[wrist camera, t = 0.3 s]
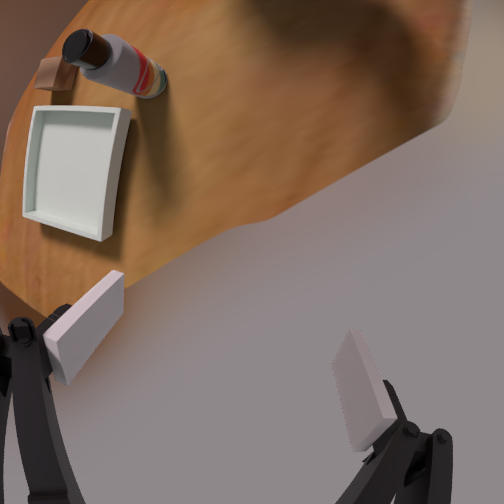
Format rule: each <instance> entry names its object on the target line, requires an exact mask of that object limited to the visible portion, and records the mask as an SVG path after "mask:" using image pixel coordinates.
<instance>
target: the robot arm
mask: <svg viewBox="0 0 504 504" xmlns="http://www.w3.org/2000/svg"><path fill="white" fill-rule="evenodd" d="M123 293H124V273H121V272H118V271H115V270H112V271H111V272H110V273H109V274H108V275H106V276H105V277H104V278H103V279H102V280H101V281H100V282H98V283H97V284H96V285H95V286H94V287H93V288H92V289H91V290H89V291H88V292H87V293H86V294H85V295H84V296H83V297H82V298H81V299H79V300H78V301H77V302H76V303H75V304H74V305H73V306H72V305H69V304H65V305H62V306H60V307H58V308H57V309H56V310H55V311H54V312H53V314H51V315H49V316H48V318H46V319H45V320H44V321H43V322H42V323H41V324H40V325H39V326H38V327H37V328H36V329H35V327H34V323H33V321H32V320H31V319H29V318H27V317H18V318H15V319H13V320H12V321H11V322H10V323H9V325H8V330H9V333H10V336H6V335H3V334H2V331H1V328H0V504H4V489H3V463H4V445H5V434H6V425H7V418H8V411H9V405H10V399H11V393H13V406H14V416H15V424H16V431H17V438H18V444H19V449H20V454H21V459H22V464H23V467H24V472H25V476H26V480H27V483H28V487H29V490H30V494H29V495H28V504H86V503H85V501H84V499H83V497H82V494H81V492H80V489H79V487H78V484H77V482H76V479H75V477H74V474H73V471H72V468H71V465H70V463H69V460H68V457H67V453H66V450H65V446H64V443H63V440H62V436H61V432H60V428H59V424H58V420H57V416H56V411H55V407H54V401H53V396H52V390H51V385H50V380H49V375H50V374H51V373H52V371H53V374H54V377H55V380H57V381H59V382H61V383H63V384H65V385H67V386H69V384H70V383H71V381H72V380H73V379H74V377H75V376H76V374H77V373H78V372H79V370H80V369H81V368H82V366H83V365H84V363H85V362H86V361H87V359H88V358H89V357H90V355H91V354H92V353H93V351H94V350H95V349H96V347H97V346H98V345H99V343H100V342H101V341H102V340H103V338H104V337H105V336H106V334H107V333H108V332H109V331H110V329H111V328H112V327H113V325H114V324H115V323H116V322H117V320H118V319H119V318H120V317H121V315H122V314H123V298H124V297H123V295H124V294H123ZM331 364H332V368H333V372H334V376H335V380H336V384H337V388H338V392H339V396H340V400H341V404H342V409H343V413H344V417H345V422H346V426H347V431H348V435H349V440H350V444H351V449H352V452H361V451H366V450H367V449H369V447H371V446H372V445H373V448H374V451H373V452H372V453H371V454H370V455H369V456H368V457H367V458H365V459H364V460H363V461H362V462H365V461H366V462H365V463H364V465H363V466H362V468H361V469H360V471H359V472H358V474H357V475H356V477H355V478H354V480H353V481H352V482H351V484H350V485H349V486H348V488H347V489H346V490H345V492H344V493H343V494H342V496H341V497H340V498H339V499H338V501H337V502H336V503H335V504H390V503H391V501H392V499H393V497H394V496H395V494H396V496H395V500H394V504H450V503H451V491H452V473H453V443H452V442H453V441H452V437H451V435H450V434H449V432H447V431H446V430H444V429H440V428H439V429H436V430H435V431H434V432H433V433H432V434H427V433H423V432H420V429H419V428H418V426H417V425H416V424H414V423H413V422H410V421H407V419H406V416H405V414H404V411H403V409H402V407H401V404H400V402H399V399H398V397H397V396H396V392H395V390H394V388H393V386H392V385H391V384H390V383H389V382H388V381H387V380H382V378H381V376H380V373H379V371H378V369H377V366H376V364H375V362H374V360H373V357H372V355H371V353H370V350H369V348H368V346H367V344H366V341H365V339H364V337H363V335H362V333H361V331H358V330H353V329H349V331H348V333H347V335H346V337H345V339H344V341H343V343H342V345H341V347H340V348H339V350H338V352H337V354H336V356H335V358H334V360H333V362H332V363H331Z"/></svg>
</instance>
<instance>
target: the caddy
mask: <svg viewBox="0 0 504 504" xmlns="http://www.w3.org/2000/svg"><path fill="white" fill-rule="evenodd" d="M131 115H132V111H131V110H127V109H123V108H114V107H98V106H34V110H33V115H32V120H31V125H30V131H29V137H28V144H27V152H26V161H25V171H24V186H23V217H26V218H29V219H32V220H35V221H38V222H41V223H44V224H47V225H50V226H53V227H56V228H59V229H62V230H65V231H68V232H71V233H75V234H78V235H81V236H84V237H87V238H90V239H94V240H97V241H100V242H102V241H103V240H105V239H107V238H108V237H110V236H111V235H112V231H113V220H114V211H115V202H116V195H117V187H118V181H119V174H120V168H121V162H122V157H123V151H124V146H125V141H126V137H127V132H128V127H129V123H130V119H131Z"/></svg>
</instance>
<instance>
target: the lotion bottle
mask: <svg viewBox="0 0 504 504" xmlns="http://www.w3.org/2000/svg"><path fill="white" fill-rule="evenodd" d="M62 56H63V59H64V61H65V62H66V63H69V64H72V65H75V66H78V67H80V71H81V73H82V75H83V76H84V77H85V78H87V79H89V80H92V81H95V82H98V83H101V84H104V85H107V86H109V87H112V88H115V89H118V90H121V91H124V92H126V93H129V94H132V95H134V96H137V97H140V98H144V99H150V98H154V97H156V96H158V95H159V94H160V93H161V92H162V91H163V90H164V89H165V87H166V84H167V74H166V72H165V70H164V69H163V68H162V67H161V66H159V65H158V64H157V63H155V62H154V61H153V60H151V59H150V58H149V57H147V56H146V55H144V54H143V53H142V52H140V51H139V50H137V49H136V48H134V47H133V46H132V45H130V44H129V43H127V42H126V41H124V40H123V39H121V38H120V37H118V36H116V35H113V34H106V35H102V36H99V35H97V34H96V33H94V32H92V31H90V30H88V29H80V30H77V31H75V32H73V33H72V34H71V35H70V36H69V37H68V38H67V39H66V41H65V43H64V45H63V49H62Z"/></svg>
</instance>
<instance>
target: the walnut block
mask: <svg viewBox="0 0 504 504" xmlns="http://www.w3.org/2000/svg"><path fill="white" fill-rule="evenodd" d="M77 70H78V66H75V65H72V64H69V63H66V62H65V61H64V59H63V56H57V57H51V58H45V59H42V60H41V63H40V67H39V70H38V73H37V77H36V80H35V84H34V87H33V88H35V89H42V90H48V91H66V90H72V87H73V83H74V80H75V76H76V73H77Z"/></svg>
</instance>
